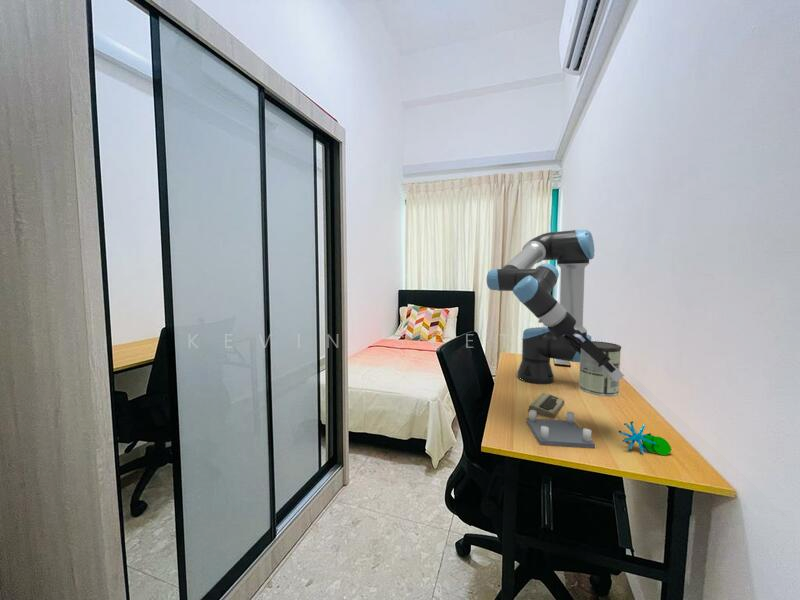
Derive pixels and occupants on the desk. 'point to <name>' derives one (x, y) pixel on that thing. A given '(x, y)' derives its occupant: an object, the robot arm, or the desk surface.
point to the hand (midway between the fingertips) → (609, 372)
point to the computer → (546, 405)
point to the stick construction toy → (647, 441)
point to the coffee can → (599, 371)
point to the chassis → (559, 432)
